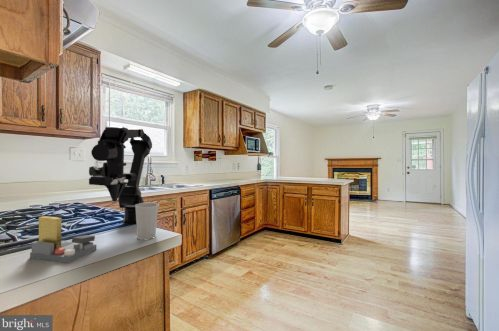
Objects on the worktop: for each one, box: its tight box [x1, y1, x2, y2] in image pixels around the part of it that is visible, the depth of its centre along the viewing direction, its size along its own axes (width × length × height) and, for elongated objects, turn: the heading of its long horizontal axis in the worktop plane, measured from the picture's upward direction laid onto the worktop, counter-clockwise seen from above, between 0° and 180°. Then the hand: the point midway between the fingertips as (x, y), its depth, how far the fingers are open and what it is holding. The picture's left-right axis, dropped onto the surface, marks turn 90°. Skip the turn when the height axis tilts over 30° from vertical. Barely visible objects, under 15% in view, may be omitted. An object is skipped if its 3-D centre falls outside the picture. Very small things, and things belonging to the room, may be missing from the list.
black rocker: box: [71, 234, 96, 243], centre depth 75 cm, size 5×3×1 cm, turn 171°
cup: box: [135, 202, 160, 241], centre depth 90 cm, size 8×8×12 cm
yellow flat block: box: [38, 215, 62, 251], centre depth 71 cm, size 2×6×10 cm, turn 81°
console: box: [29, 240, 97, 264], centre depth 73 cm, size 10×12×5 cm
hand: (114, 201), depth 93 cm, fingers closed
